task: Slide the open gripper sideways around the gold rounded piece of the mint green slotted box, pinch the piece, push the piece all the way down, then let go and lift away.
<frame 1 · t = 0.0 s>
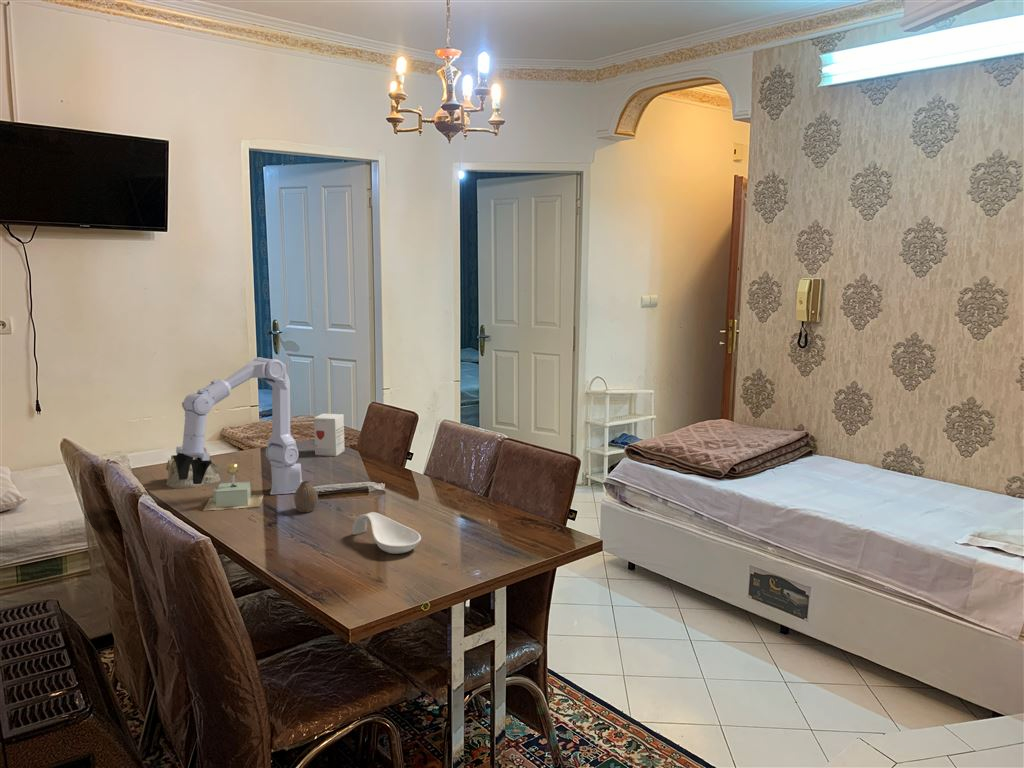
hand: (190, 481, 216), 11 cm above the table, tool pointing down, fingers open, 7 cm apart
mint green slotted box: (231, 494, 229), on the cork mat
sand castle: (193, 482, 253), on the table
cork mat: (234, 503, 230), on the table
gold rounded piece: (232, 477, 228), point 8 cm above the table, slide at 0.0 cm
vase: (306, 511, 223), on the table
spoon rest: (383, 545, 196), on the table
supplement box: (330, 453, 292), on the table
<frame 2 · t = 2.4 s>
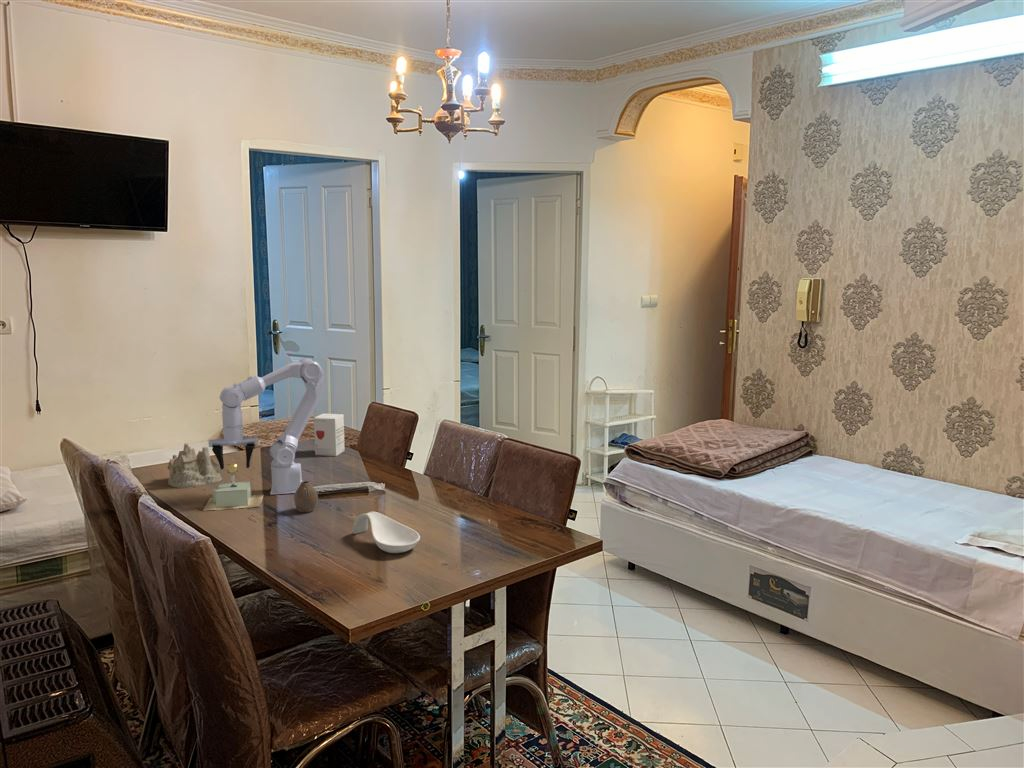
hand: (235, 467, 234), 10 cm above the table, tool pointing down, fingers open, 7 cm apart
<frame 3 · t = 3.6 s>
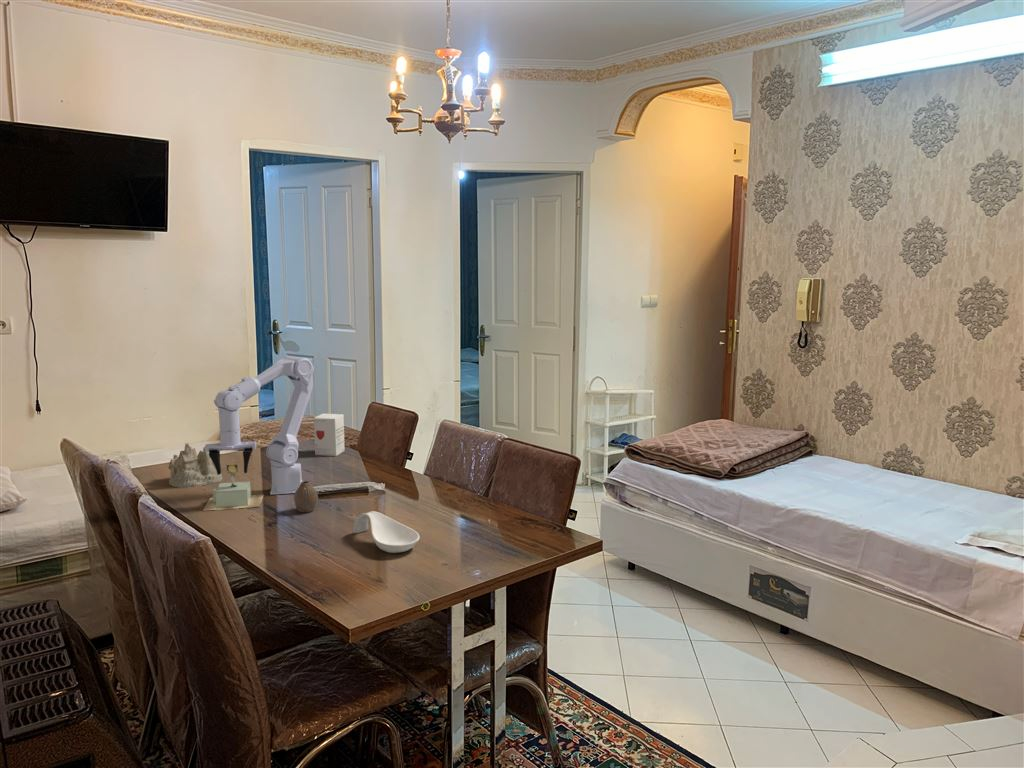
hand: (232, 473, 228), 10 cm above the table, tool pointing down, fingers open, 7 cm apart
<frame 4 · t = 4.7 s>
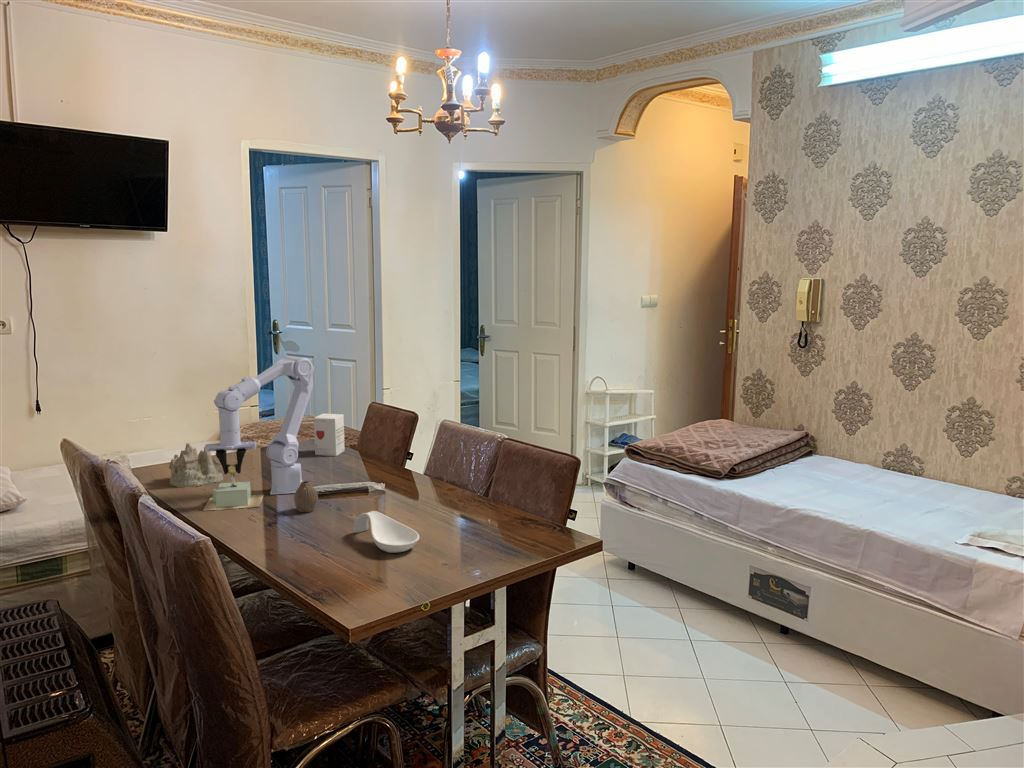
hand: (232, 473, 228), 10 cm above the table, tool pointing down, fingers closed on gold rounded piece, 3 cm apart
gold rounded piece: (232, 477, 228), point 8 cm above the table, slide at 0.0 cm, touching gripper
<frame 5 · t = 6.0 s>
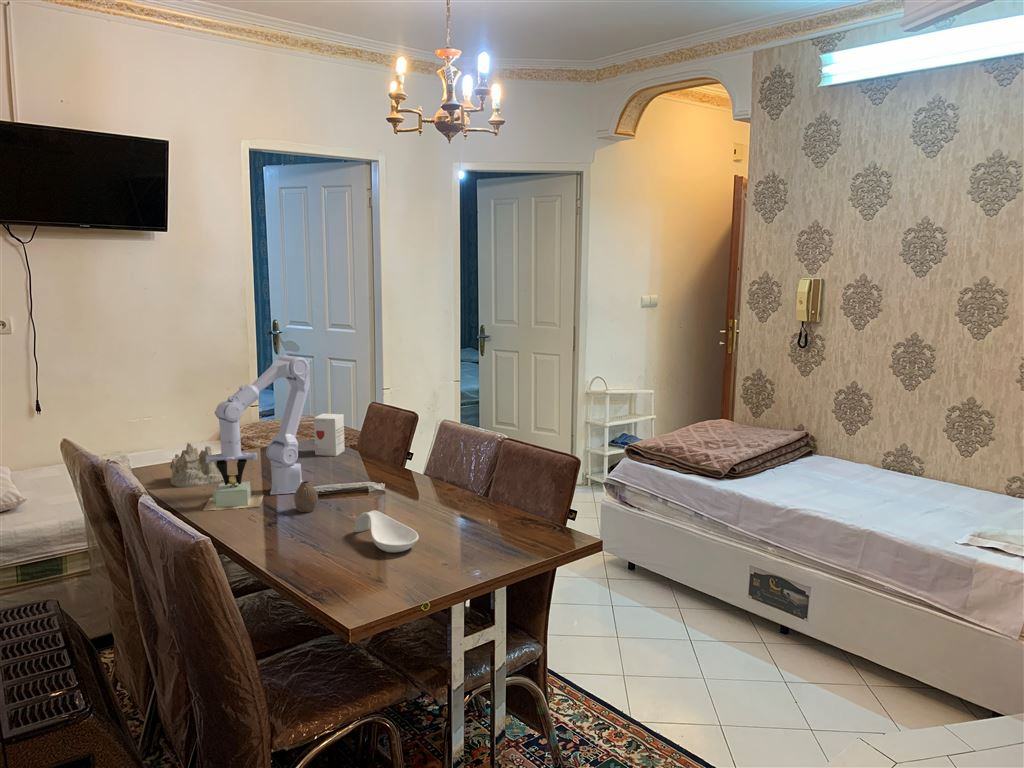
hand: (233, 483, 229), 6 cm above the table, tool pointing down, fingers closed on gold rounded piece, 3 cm apart
gold rounded piece: (233, 487, 229), point 5 cm above the table, slide at 3.4 cm, touching gripper
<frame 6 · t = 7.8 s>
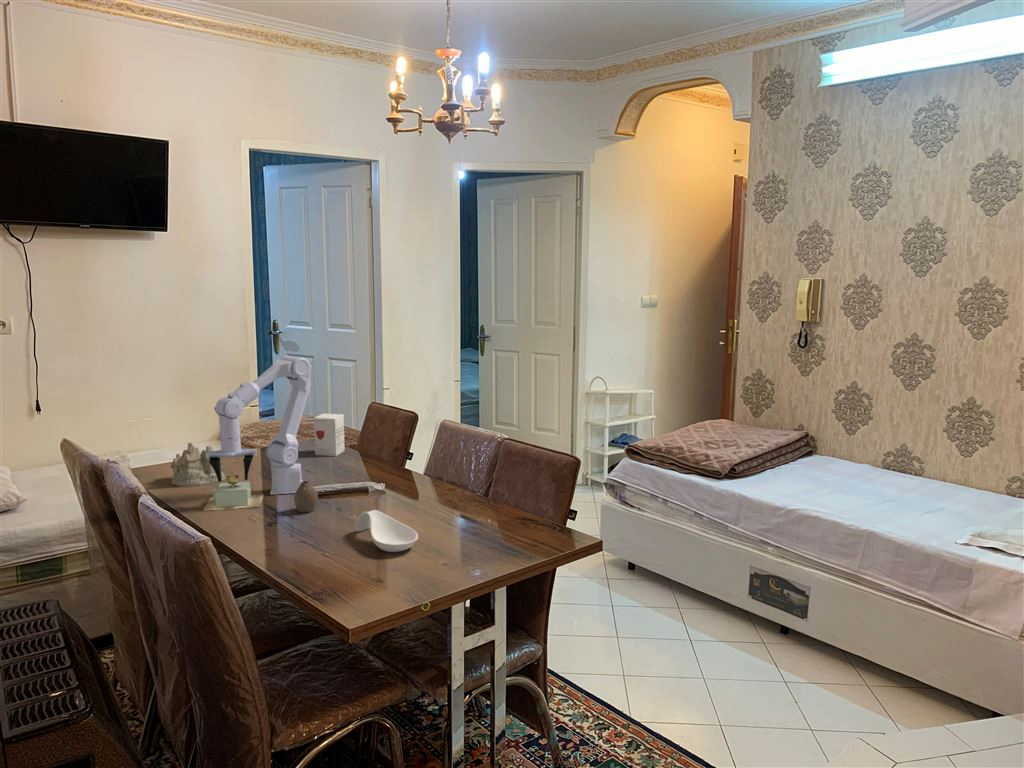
hand: (233, 480, 229), 7 cm above the table, tool pointing down, fingers open, 7 cm apart
gold rounded piece: (233, 488, 229), point 5 cm above the table, slide at 3.4 cm
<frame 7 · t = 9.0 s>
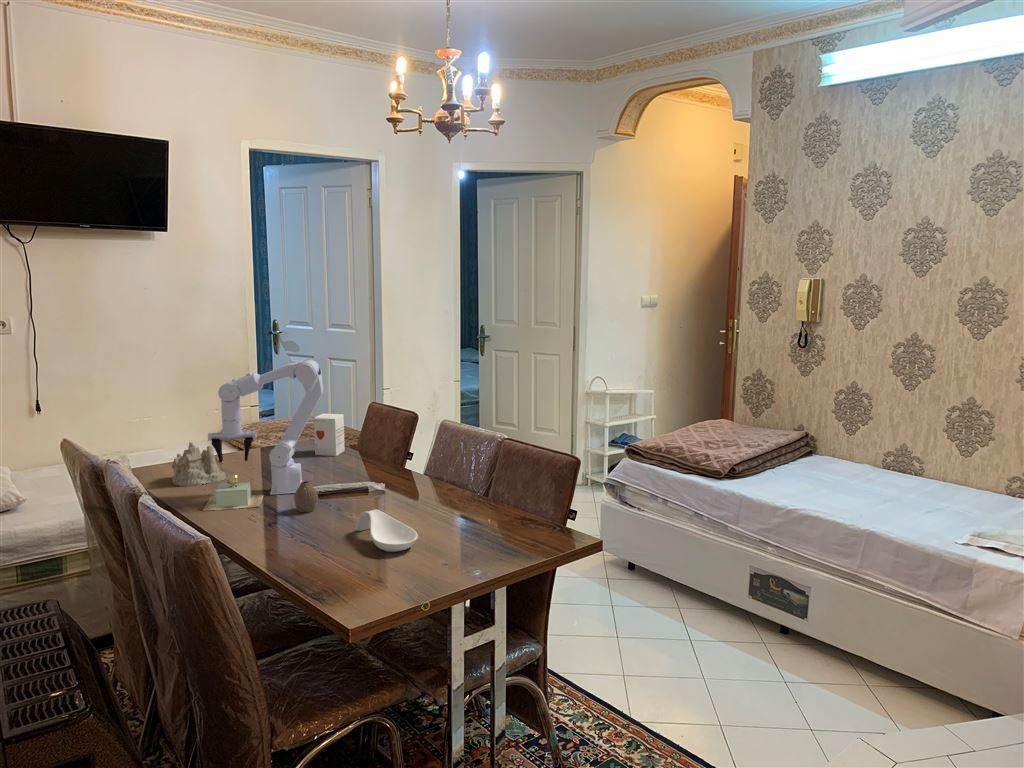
hand: (233, 460, 239), 10 cm above the table, tool pointing down, fingers open, 7 cm apart
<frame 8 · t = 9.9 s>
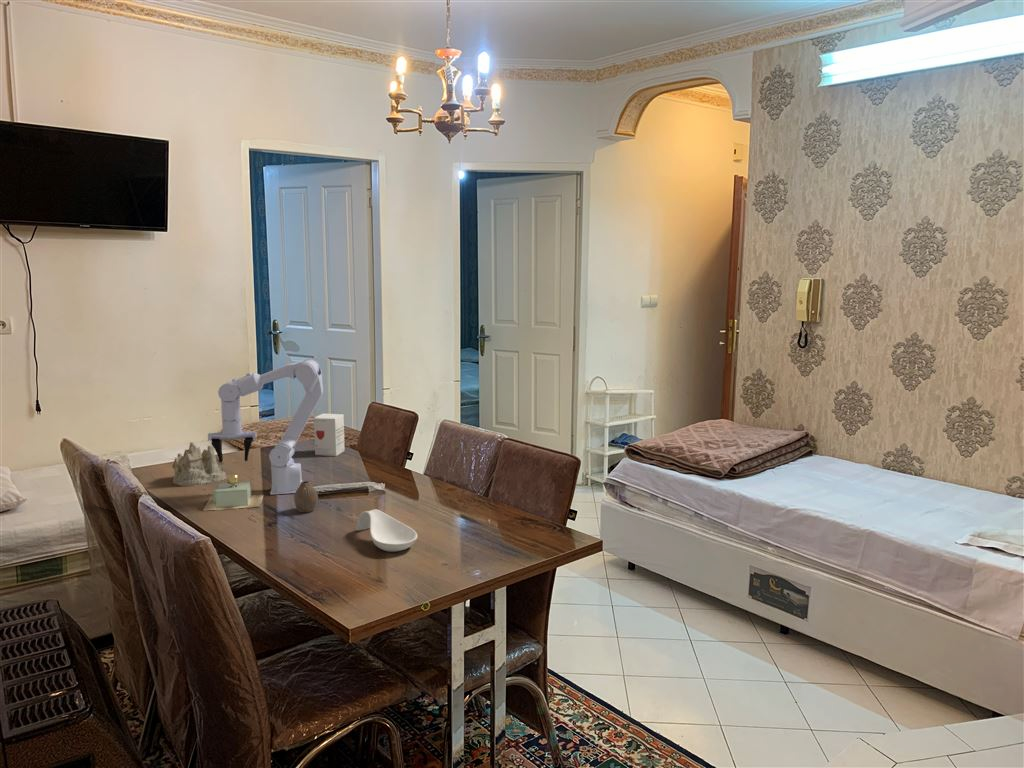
hand: (233, 460, 239), 10 cm above the table, tool pointing down, fingers open, 7 cm apart
at the end: gold rounded piece slide at 3.4 cm; vase moved 0.2 cm from its start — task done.
